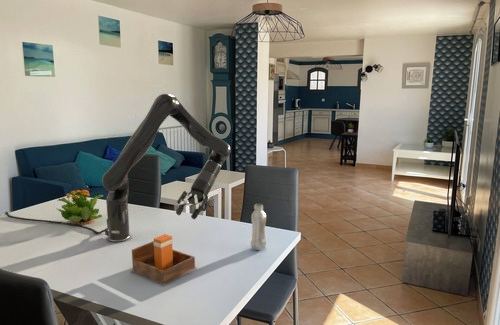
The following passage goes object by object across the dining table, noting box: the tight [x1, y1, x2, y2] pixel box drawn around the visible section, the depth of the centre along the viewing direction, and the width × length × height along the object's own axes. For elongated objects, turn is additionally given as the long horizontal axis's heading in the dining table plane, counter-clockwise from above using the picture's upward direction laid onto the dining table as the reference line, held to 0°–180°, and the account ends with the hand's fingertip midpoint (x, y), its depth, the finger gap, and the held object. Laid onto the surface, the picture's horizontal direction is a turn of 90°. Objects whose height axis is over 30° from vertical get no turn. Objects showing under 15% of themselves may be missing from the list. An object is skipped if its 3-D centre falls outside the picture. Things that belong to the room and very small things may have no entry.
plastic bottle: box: [250, 203, 267, 251], centre depth 163 cm, size 6×7×20 cm
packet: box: [153, 233, 173, 271], centre depth 143 cm, size 4×6×13 cm
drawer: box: [131, 240, 196, 285], centre depth 144 cm, size 18×16×9 cm
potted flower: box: [56, 189, 104, 226], centre depth 197 cm, size 25×24×18 cm
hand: (185, 216), depth 151 cm, fingers open, 8 cm apart
